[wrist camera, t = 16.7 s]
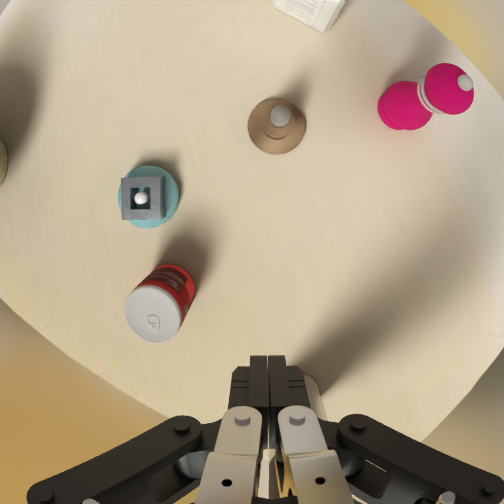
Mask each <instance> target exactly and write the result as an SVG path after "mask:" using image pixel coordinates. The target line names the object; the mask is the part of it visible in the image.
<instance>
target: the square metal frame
mask: <svg viewBox="0 0 504 504" xmlns="http://www.w3.org/2000/svg"><path fill="white" fill-rule="evenodd" d="M139 187H150V198H151V208H137V203H136V201H135V195H136V194H137V188H139ZM121 208H122V220H161V219H163V218H165V217H166V208H165V176H161V177H131V178H121Z"/></svg>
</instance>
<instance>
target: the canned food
mask: <svg viewBox="0 0 504 504" xmlns="http://www.w3.org/2000/svg"><path fill="white" fill-rule="evenodd" d="M194 297H195V286H194V283H193V280H192V278H191V276H190V275H189V274H188V272H187V271H186V270H184V269H183V268H181V267H179V266H177V265H172V264H166V265H161V266H159V267H157V268H156V269H155V270H154V271H152V272H151V273H150V274H149V275H148V276H147V277H146V278H145V279H144V280H143V281H142V282H141V283H140V284H139V285H138V286H137V287H136V288H135V289H134V290H133V291H132V292H131V293H130V294H129V296H128V297H127V300H126V302H125V306H124V313H125V318H126V321H127V323H128V325H129V327H130V329H131V330H132V331H133V332H134V333H135V334H136V335H137V336H138V337H140V338H141V339H143V340H145V341H147V342H151V343H164V342H167V341H169V340H171V339H172V338H173V337H174V336H175V335H176V334H177V332H178V331H179V329H180V327H181V325H182V323H183V321H184V319H185V317H186V315H187V313H188V311H189V309H190V306H191V304H192V302H193V300H194Z"/></svg>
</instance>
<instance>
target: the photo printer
mask: <svg viewBox="0 0 504 504" xmlns="http://www.w3.org/2000/svg"><path fill="white" fill-rule="evenodd" d="M346 1H347V0H272V5H273V6H274V7H276V8H277V9H279V10H281V11H283V12H284V13H286V14H288V15H290V16H292V17H294V18H296V19H297V20H299V21H301V22H303V23H305V24H307V25H308V26H310V27H312V28H314V29H316V30H318V31H320V32H324V31H328V30H329V29H331V28H332V26H333V24H334V22H335V21H336V19H337V17H338V15H339V14H340V12H341V10H342V8H343V7H344V5H345V3H346Z"/></svg>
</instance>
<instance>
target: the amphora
mask: <svg viewBox="0 0 504 504" xmlns="http://www.w3.org/2000/svg"><path fill="white" fill-rule="evenodd" d="M7 164H8V157H7V151H6V148H5V145H4V143H3V141H2V140H1V139H0V186H1V184H2V182H3V180H4V178H5V174H6V171H7Z"/></svg>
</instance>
